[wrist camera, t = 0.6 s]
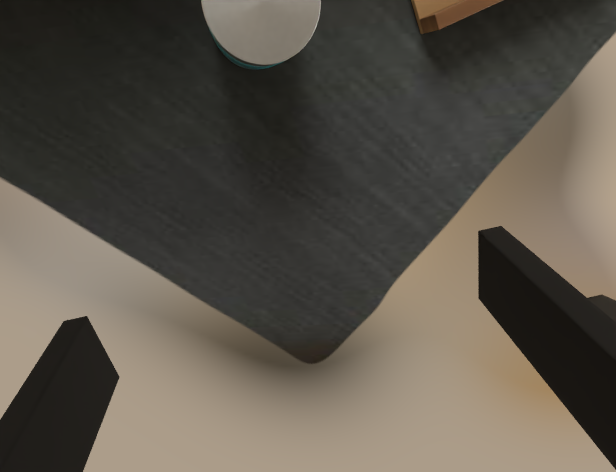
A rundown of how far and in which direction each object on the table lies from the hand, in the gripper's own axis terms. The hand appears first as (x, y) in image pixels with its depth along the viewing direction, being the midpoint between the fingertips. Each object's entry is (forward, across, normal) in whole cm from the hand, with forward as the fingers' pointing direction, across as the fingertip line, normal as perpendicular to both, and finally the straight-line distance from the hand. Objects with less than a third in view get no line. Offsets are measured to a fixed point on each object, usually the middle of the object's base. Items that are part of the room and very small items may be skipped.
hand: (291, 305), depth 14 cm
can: (+27, 0, +8) cm, 28 cm away
